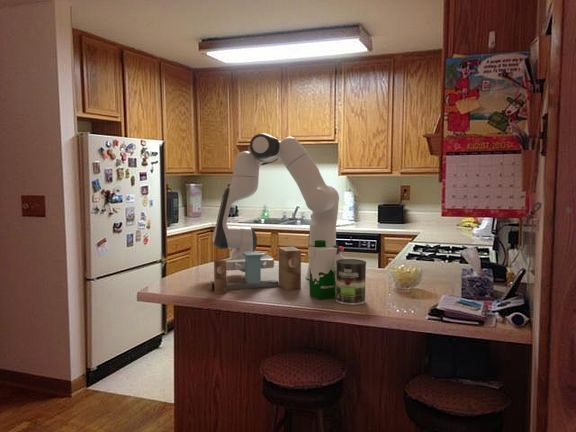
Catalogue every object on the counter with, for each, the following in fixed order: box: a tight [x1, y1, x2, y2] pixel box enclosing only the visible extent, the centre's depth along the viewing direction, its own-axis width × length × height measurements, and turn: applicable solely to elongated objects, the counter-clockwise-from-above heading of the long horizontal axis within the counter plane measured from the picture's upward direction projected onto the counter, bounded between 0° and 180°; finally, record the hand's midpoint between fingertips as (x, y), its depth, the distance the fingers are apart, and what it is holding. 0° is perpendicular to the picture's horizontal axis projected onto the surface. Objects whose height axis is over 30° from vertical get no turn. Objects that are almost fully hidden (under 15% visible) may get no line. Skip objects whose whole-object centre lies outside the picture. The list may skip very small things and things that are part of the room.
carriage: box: [244, 251, 262, 283], centre depth 191 cm, size 6×6×11 cm
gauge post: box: [213, 259, 228, 295], centre depth 182 cm, size 4×4×12 cm
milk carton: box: [308, 240, 337, 300], centre depth 177 cm, size 9×9×20 cm
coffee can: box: [335, 258, 367, 306], centre depth 171 cm, size 10×10×14 cm
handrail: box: [210, 279, 279, 292], centre depth 191 cm, size 26×4×3 cm, turn 107°
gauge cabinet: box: [278, 246, 302, 291], centre depth 192 cm, size 6×11×15 cm, turn 17°
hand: (252, 267), depth 191 cm, fingers open, 8 cm apart
